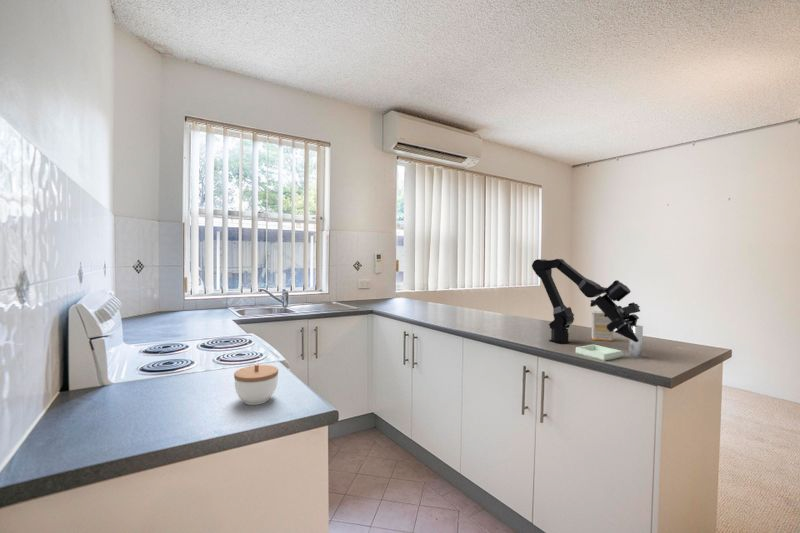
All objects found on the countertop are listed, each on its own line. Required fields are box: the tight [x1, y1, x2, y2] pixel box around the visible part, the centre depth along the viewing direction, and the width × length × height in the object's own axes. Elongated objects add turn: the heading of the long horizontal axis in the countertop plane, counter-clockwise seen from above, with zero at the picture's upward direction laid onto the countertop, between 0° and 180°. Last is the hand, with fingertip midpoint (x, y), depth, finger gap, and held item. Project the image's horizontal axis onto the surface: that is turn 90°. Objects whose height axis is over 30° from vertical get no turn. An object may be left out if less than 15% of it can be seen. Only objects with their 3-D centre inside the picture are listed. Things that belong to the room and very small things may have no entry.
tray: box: [575, 344, 623, 362], centre depth 143 cm, size 12×12×2 cm
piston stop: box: [628, 324, 644, 359], centre depth 142 cm, size 4×4×12 cm
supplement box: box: [591, 310, 614, 342], centre depth 170 cm, size 8×5×13 cm, turn 71°
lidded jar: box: [233, 363, 279, 406], centre depth 96 cm, size 11×11×9 cm
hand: (639, 340), depth 141 cm, fingers closed on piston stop, 4 cm apart
